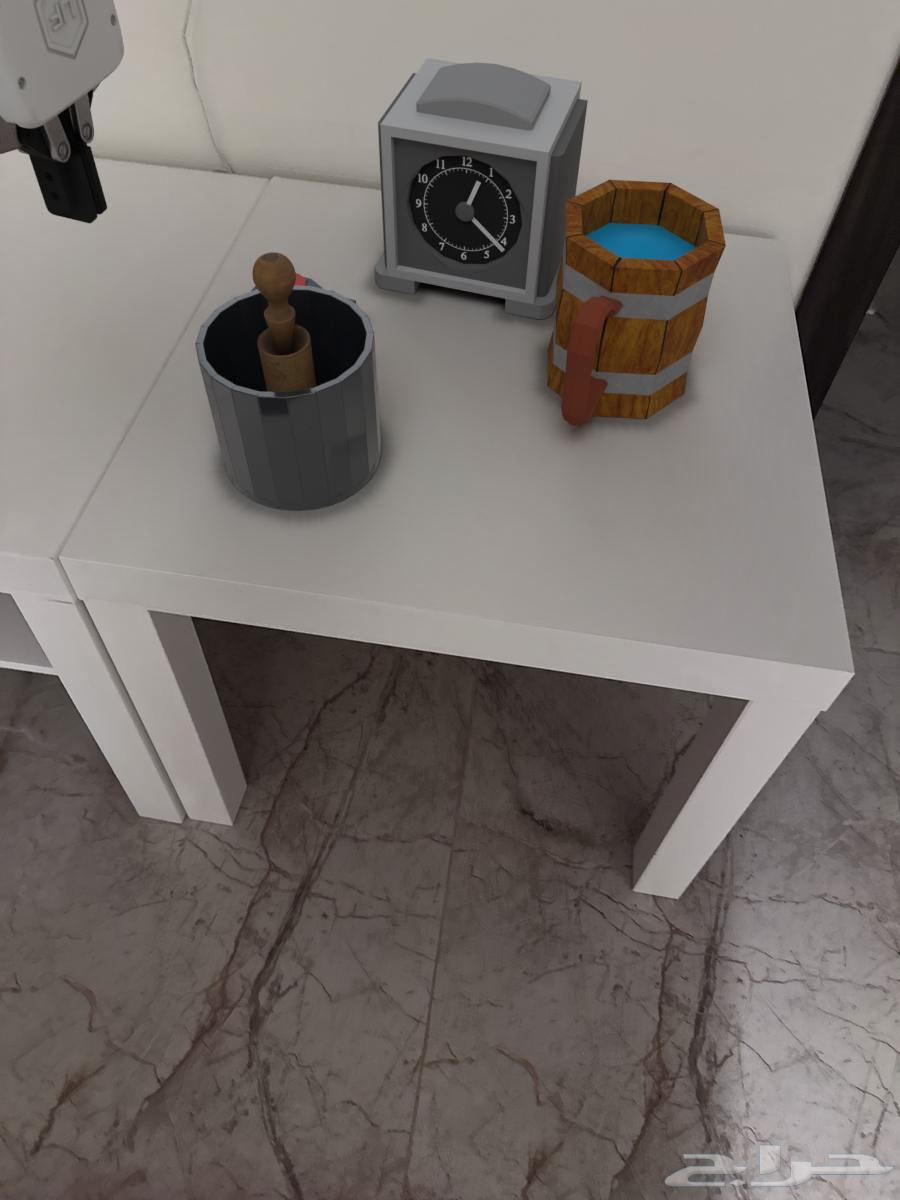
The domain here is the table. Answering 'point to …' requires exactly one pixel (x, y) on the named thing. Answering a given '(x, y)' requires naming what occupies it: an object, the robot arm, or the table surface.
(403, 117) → the alarm clock
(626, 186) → the mug
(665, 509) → the table surface
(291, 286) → the mortar and pestle
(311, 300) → the grey open cylinder
